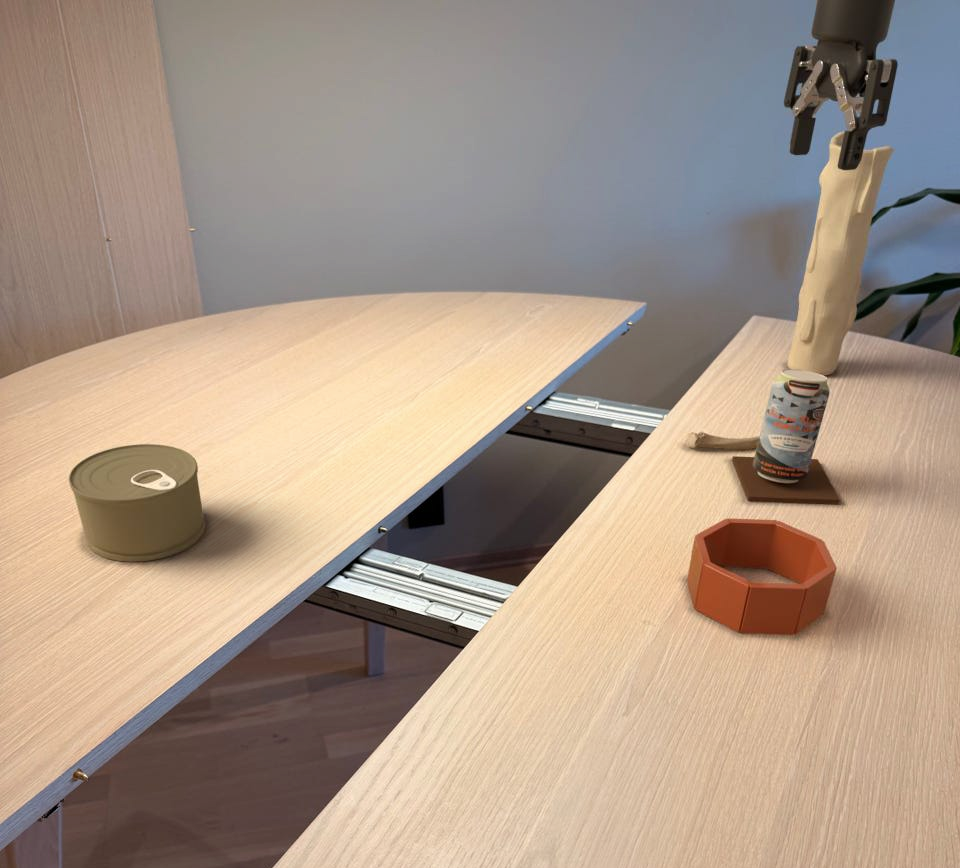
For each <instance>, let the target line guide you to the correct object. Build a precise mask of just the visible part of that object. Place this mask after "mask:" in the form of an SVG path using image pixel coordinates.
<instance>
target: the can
mask: <svg viewBox="0 0 960 868" xmlns="http://www.w3.org/2000/svg"><path fill="white" fill-rule="evenodd" d="M198 471H199V467H198V462H197V460H196V459H195V457H194V455H192V454H190V453H189V452H188V451H186V450H184V449H181V448H178V447H174V446H170V445H165V444H154V443H153V444H152V443H143V444H142V443H141V444H129V445H122V446H117V447H113V448H112V447H111V448H108V449H105V450H102V451H99V452H97V453H94V454H91V455H90V456H87V457H86V458H84V459H82V460H81V461H79V462H78V463H77V464H75V466H74V467H73V468H72V469H71V471H70V473H69V474H68V482H69V483H68V484H69V486H70V489H71V490H72V492H73V496H74V499H75V502H76V507H77V510H78V515H79V519H80V522H81V526H82V530H83V533H84V538H85V542H86V544H87V547H88V548H89V549H90V551H92V552H93V553H94V554H96V555H97V556H99V557H102V558H105V559H108V560H112V561H118V562H128V563H129V562H131V563H132V562H134V563H135V562H148V561H154V560H160V559H163V558H168V557H171V556H174V555H176V554H179V553H181V552H183V551H185V550H186V549H189V548H190V547H192V546H193V545H194V544H195V543H197V542H198V541H199V540H200V538H201V537H202V536H203V534H204V532H205V530H206V529H205V528H206V522H205V518H204V512H203V504H202V498H201V493H200V492H201V491H200V486H199V485H200V483H199V478H198Z"/></svg>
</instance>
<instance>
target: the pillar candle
mask: <svg viewBox="0 0 960 868" xmlns="http://www.w3.org/2000/svg"><path fill="white" fill-rule="evenodd" d="M845 131H846V130H843V131H839V132H838V133H835V135H833V136H832V137H831V139H830V142H829V147H828V148H829V157H828V158H829V159H828V162H827V163H826V164H825V166H824V167H823V169H822V171H821V172H820V175H819V178H818V182H819V183H818V184H819V186H820V189H821V190H820V197H819V204H818V207H817V213H816V220H815V224H814V231H813V235H812V240H811V245H810V248H809V252H808V256H807V260H806V265H805V272H804V277H803V281H802V285H801V287H800V291H799V294H798V314H797V318H796V324H795V328H794V333H793V337H792V343H791V347H790V351H789V354H788V358H787V367H788V369H797V370H804V371H810V372H814V373H818V374H821V375H823V376H829V375H831V374H833V373H834V372H835V371H836V369H837V367H838V363H839V359H840V355H841V350H842V348H843V347H842V346H843V342H844V339H845V338H846V336H847V334H848V333H849V331H850V330H851V328H852V325H853V324H854V322H855V320H856V317H857V312H858V308H857V307H858V306H857V298H858V294H859V290H860V286H861V283H862V275H861V274H862V269H863V264H864V260H865V256H866V252H867V248H868V240H869V235H870V229H871V224H872V220H873V216H874V211H875V207H876V204H877V200H878V196H879V192H880V189H881V185H882V183H883V178H884V174H885V171H886V167H887V164H888V162H889V160H890V158H891V156H892V155H893V153H894V148H893V147H892V146H889V145H885V146H881V147H874V148H873V149H863V153H862V154H863V155H862V159H861V161H860V163H859V165H858V167H857V168H856V169H855V170H841V169H839V168H838V161H839V156H840V152H841V147H842V142H843V138H844V133H845Z"/></svg>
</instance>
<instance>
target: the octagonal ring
mask: <svg viewBox="0 0 960 868" xmlns="http://www.w3.org/2000/svg"><path fill="white" fill-rule="evenodd" d="M693 538H694V539H693V544H692V550H691V556H690V561H689V567H688V572H687V579H686V582H687V585H688V589H689V594H690V598H691V601H692V605H693V606H692V607H693V609H694V610H695V611H696V612H698V613H700V614H702V615H704V616H705V617H708V618H710V619H712V620H714V621H716V622H718V623H719V624H721V625H723V626H725V627H727V628H729V629H731V630H733V631H734V632H736V633H740V634H751V635H752V634H755V635H756V634H757V635H780V636H781V635H783V636H794V635H797V634H799V633H800V632H801V631H803V630H804V629H806V628H807V627H808V626H810V625H811V624H812V623H814V622H816V621H817V620H818V619H820V618H821V617H823V616H824V614H825V612H826V608H827V604H828V602H829V601H828V600H829V598H830V595H831V589H832V587H833V582H834V579H835V576H836V572H837V567H838V566H837V565H836V564H835V561H834V559H833V557H832V554H831V553H830V550H829V549H828V547H827V544H826V543H825V541H824V540H823V539H822V538H819V537H817V536H815V535H813V534H810V533H807V532H805V531H803V530H801V529H799V528H796V527H794V526H792V525H790V524H787V523H785V522H783V521H780V520H777V519H756V518H755V519H754V518H724V519H722V520H720V521H718V522H716V523H715V524H713V525H711V526H709V527H708V528H706V529H704V530H702V531H700V532H699V533H697V534H695V536H694V537H693ZM723 567H726V568H755V569H768V570H769V571H770V572H771V571H772V572H773V573H776V574H778V575H780V576H782V577H784V578H787V579H788V580H790V581H793V582H795V583H785V582H755V581H751V580H749V579H747V578H744V577H742V576H740V575H738V574H736V573H734V572H732V571H730V570H727V569H725V568H723Z"/></svg>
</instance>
